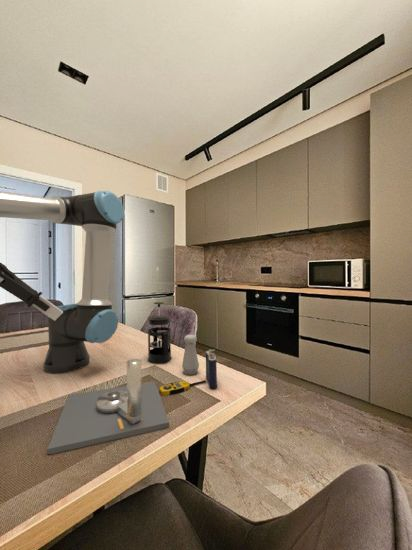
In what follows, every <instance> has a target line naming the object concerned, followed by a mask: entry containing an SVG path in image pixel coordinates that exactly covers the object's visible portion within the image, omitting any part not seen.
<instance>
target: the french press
mask: <svg viewBox="0 0 412 550" xmlns="http://www.w3.org/2000/svg"><path fill="white" fill-rule="evenodd" d="M153 304H154V305H157V308H158V315H154V316H153V315H152V316H148V317H147V320H148V325H151V326H156V327H151V328H148V329H147V334H148V335H147V348H148V351H147V352H148V353H147V355H148V357H147V361H148V363H149V364H155V365H157V364H161V365H162V364H166V363H168V362H170V361H171V360H172V358H173V357H172V349H171V347H172V345H171V333H172V332H171V328H170V327H165V326H163V325H169V324H170V319H171V316H170V315H160V311H161V310H160V309H161V305H164V304H165V302H162V301H157V302H156V301H155V302H154V303H153ZM160 331H162V332H160ZM151 336H152V339H153V341H151ZM151 348H152V349H151Z"/></svg>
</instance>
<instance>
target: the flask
mask: <svg viewBox="0 0 412 550" xmlns="http://www.w3.org/2000/svg"><path fill="white" fill-rule="evenodd" d="M214 351H216V349H208V350H207V351H205V377H206V379H205V380H206V382H207V383H206V384H208V389H209V390H211V391H214V390H217V389H218V380H217V379H218V375H217V374H218V373H217V371H218V370H217V355H216V354H215V353H214Z"/></svg>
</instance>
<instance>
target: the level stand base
mask: <svg viewBox="0 0 412 550" xmlns="http://www.w3.org/2000/svg"><path fill="white" fill-rule="evenodd" d="M141 383H142V419H141V420H139V421H138V422H136V423H134V424H132V423H130V422H129V421H128V420H127V419H125V418H124V417H123V416H121V415H120V414H119V413H118V412H114V413H102V412H99V411H98V410H97V399H98V398H99V397H100V396H101V395H103V394H105V393H107V392H110V391H116V390H123V391H127V385H123V386H117V387H116V386H115V387H110V388H103V389H98V390H91V391H86V392H85V391H84V392H78V393H75V394H74V393H72V394H68V396H67V398H66V401H65V403H64V406H63V407H62V408H63V409H62V411H61V414H60V416H59V418H58V420H57V421H58V422H57V424H56V426H55V429H54V432H53V434H52V437H51V440H50V442H49V443H48V444H49V445H48V446H47V455H48V454H50V455H53V454H58V453H63V452H66V451H72V450H76V449H80V448H84V447H89V446H92V445H93V446H94V445H96V444H97V445H98V444H103V443H107V442H112V441H116V440H121V439H123V438H128V437H129V438H130V437H134V436H138V435H143V434H146V433H151V432H155V431H159V430H163V429H168V428H170V421H169V418H168V415H167V412H166V409H165V406H164V404H163V400H162V397H161V394H160V392H159V388H158V386H157V383H156V381H155V380H152V381H148V382H141Z"/></svg>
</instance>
